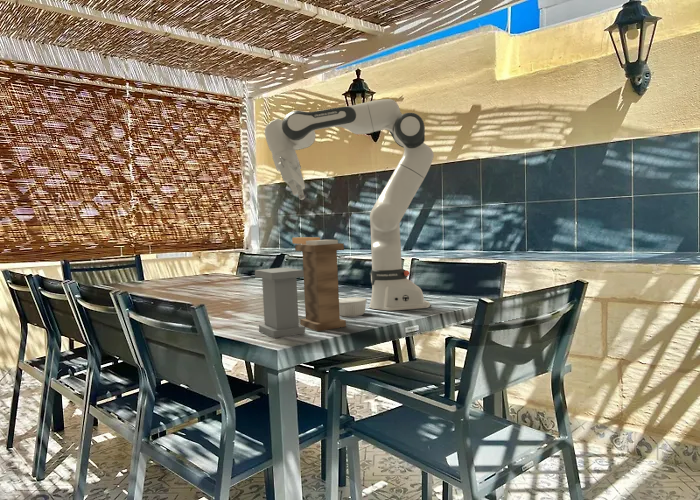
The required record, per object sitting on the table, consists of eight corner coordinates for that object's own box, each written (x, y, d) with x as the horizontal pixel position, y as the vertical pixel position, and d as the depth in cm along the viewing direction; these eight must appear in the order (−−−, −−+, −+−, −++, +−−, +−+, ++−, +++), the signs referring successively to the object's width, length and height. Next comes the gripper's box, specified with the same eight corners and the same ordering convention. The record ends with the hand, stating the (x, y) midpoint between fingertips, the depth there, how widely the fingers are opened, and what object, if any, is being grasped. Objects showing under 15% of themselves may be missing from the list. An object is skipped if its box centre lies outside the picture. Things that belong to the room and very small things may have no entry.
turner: (287, 243, 183) (286, 237, 183) (305, 242, 187) (305, 236, 187) (317, 245, 163) (317, 238, 163) (337, 243, 167) (337, 237, 167)
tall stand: (299, 324, 175) (295, 244, 174) (326, 320, 180) (323, 242, 179) (318, 331, 163) (314, 245, 162) (347, 327, 168) (343, 243, 167)
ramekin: (331, 317, 187) (330, 302, 187) (340, 311, 198) (339, 297, 198) (362, 317, 184) (361, 302, 184) (370, 311, 195) (369, 297, 195)
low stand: (258, 331, 168) (254, 270, 167) (287, 326, 173) (284, 267, 172) (275, 338, 156) (271, 272, 155) (306, 333, 161) (303, 270, 160)
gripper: (287, 151, 189) (300, 187, 187) (301, 165, 209) (313, 198, 208) (270, 158, 190) (283, 194, 188) (286, 171, 210) (298, 204, 208)
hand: (299, 196), depth 198 cm, fingers open, 8 cm apart
